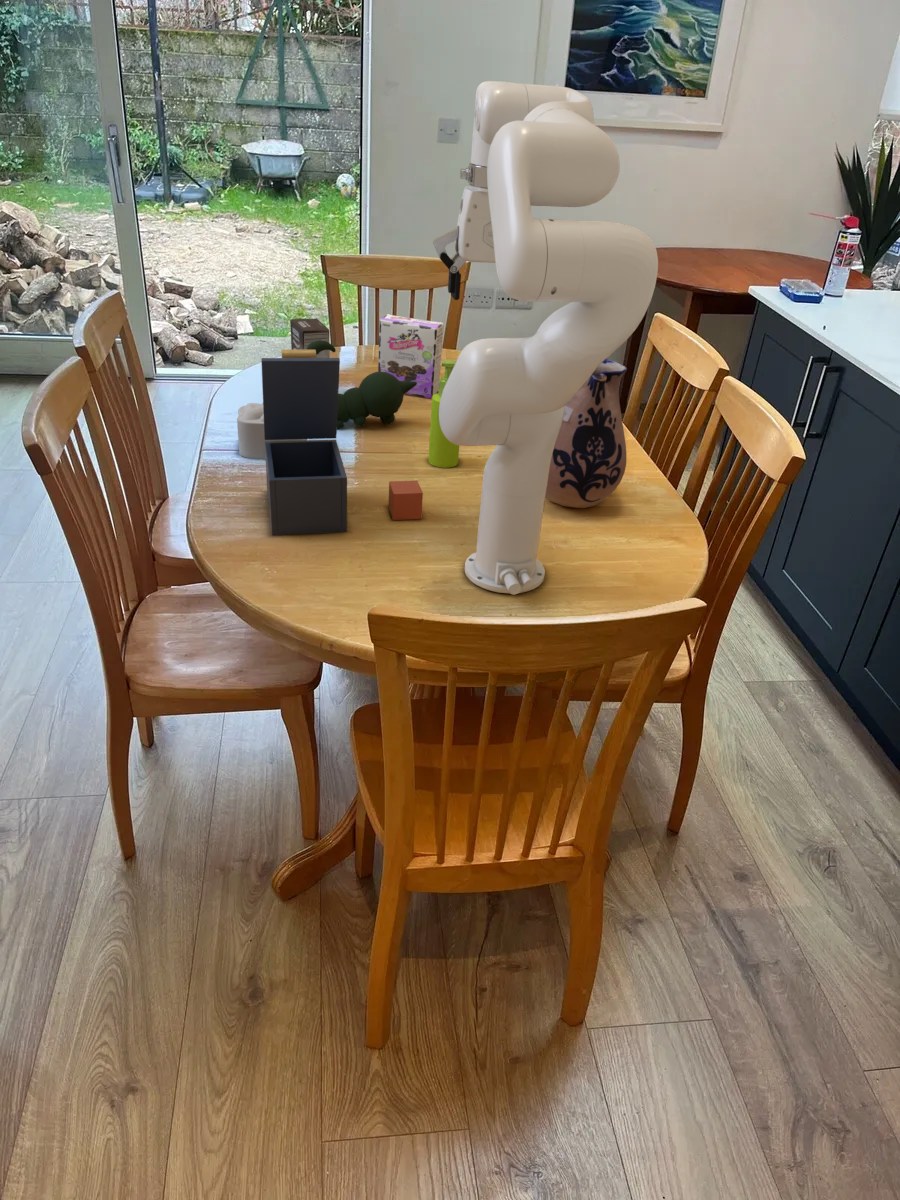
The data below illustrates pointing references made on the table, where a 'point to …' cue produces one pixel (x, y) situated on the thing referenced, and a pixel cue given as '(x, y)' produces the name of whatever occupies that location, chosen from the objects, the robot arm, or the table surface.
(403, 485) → the block
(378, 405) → the toy figurine
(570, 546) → the table surface
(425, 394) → the candy box
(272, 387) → the lid
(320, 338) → the coffee box
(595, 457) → the ceramic pitcher
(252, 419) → the lumpy-topped squat cylinder
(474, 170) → the robot arm
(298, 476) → the chest
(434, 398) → the soap dispenser
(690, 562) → the table surface
